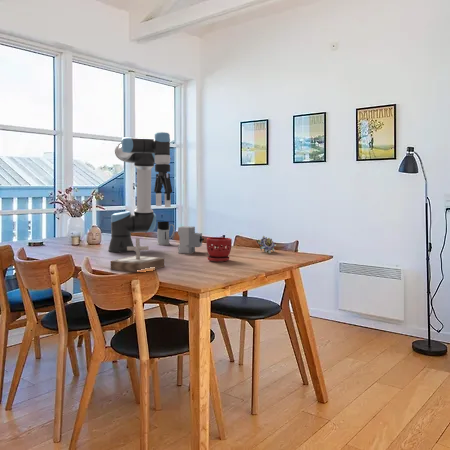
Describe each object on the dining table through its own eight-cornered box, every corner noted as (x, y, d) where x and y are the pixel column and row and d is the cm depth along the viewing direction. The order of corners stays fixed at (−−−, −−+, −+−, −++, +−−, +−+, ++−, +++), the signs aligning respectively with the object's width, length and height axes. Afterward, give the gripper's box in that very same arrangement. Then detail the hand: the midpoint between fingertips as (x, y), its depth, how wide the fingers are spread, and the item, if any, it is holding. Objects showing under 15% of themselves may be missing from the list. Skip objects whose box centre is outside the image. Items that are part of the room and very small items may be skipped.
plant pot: (223, 263, 238) (223, 239, 237) (201, 261, 245) (201, 238, 244) (236, 259, 249) (236, 237, 248) (215, 258, 256) (215, 236, 255)
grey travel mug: (163, 243, 322) (162, 221, 321) (178, 244, 314) (178, 222, 313) (154, 244, 315) (153, 222, 314) (169, 245, 307) (169, 223, 306)
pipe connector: (129, 257, 230) (128, 237, 229) (149, 257, 230) (149, 236, 229) (126, 260, 220) (125, 239, 219) (147, 260, 220) (146, 239, 219)
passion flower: (269, 262, 272) (263, 247, 266) (256, 257, 280) (249, 242, 274) (281, 250, 277) (275, 235, 270) (268, 245, 285) (262, 230, 278)
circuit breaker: (201, 253, 272) (201, 227, 271) (178, 253, 275) (177, 227, 273) (204, 251, 279) (204, 226, 278) (181, 251, 282) (181, 226, 281)
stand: (110, 269, 222) (110, 260, 221) (135, 263, 238) (134, 255, 237) (141, 272, 213) (140, 263, 213) (164, 266, 229) (164, 257, 229)
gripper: (178, 163, 225) (179, 207, 227) (161, 165, 248) (162, 205, 249) (163, 162, 222) (164, 207, 224) (147, 164, 244) (148, 205, 246)
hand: (163, 206), depth 237 cm, fingers open, 13 cm apart
